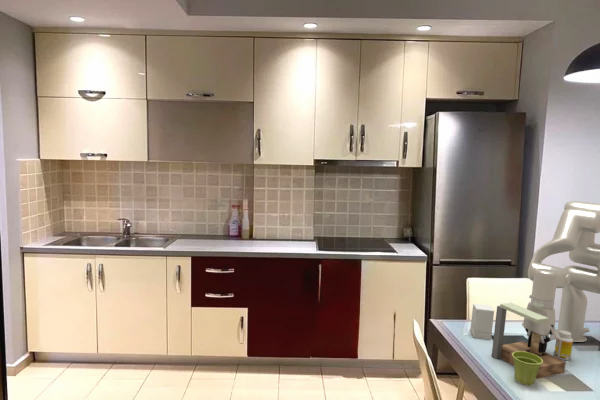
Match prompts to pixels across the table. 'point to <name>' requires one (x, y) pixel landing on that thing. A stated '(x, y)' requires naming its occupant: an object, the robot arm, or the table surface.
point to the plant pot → (526, 367)
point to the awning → (501, 324)
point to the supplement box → (482, 321)
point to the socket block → (550, 362)
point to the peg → (535, 344)
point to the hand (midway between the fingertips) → (536, 349)
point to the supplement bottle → (563, 345)
